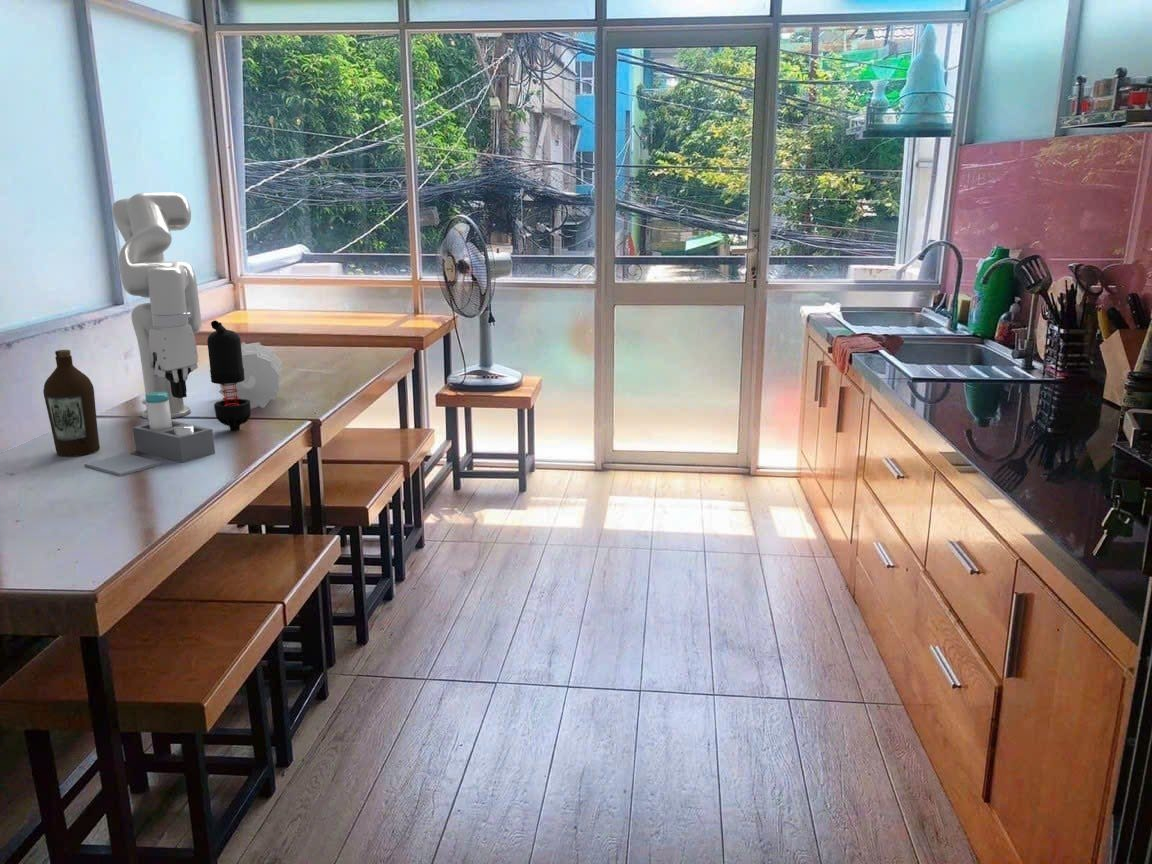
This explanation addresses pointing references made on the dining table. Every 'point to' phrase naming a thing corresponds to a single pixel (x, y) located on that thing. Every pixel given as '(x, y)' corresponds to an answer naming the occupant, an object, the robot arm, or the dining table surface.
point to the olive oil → (71, 408)
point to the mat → (122, 464)
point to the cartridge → (158, 410)
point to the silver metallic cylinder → (183, 430)
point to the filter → (227, 375)
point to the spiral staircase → (257, 376)
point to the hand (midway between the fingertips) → (179, 396)
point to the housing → (174, 442)
